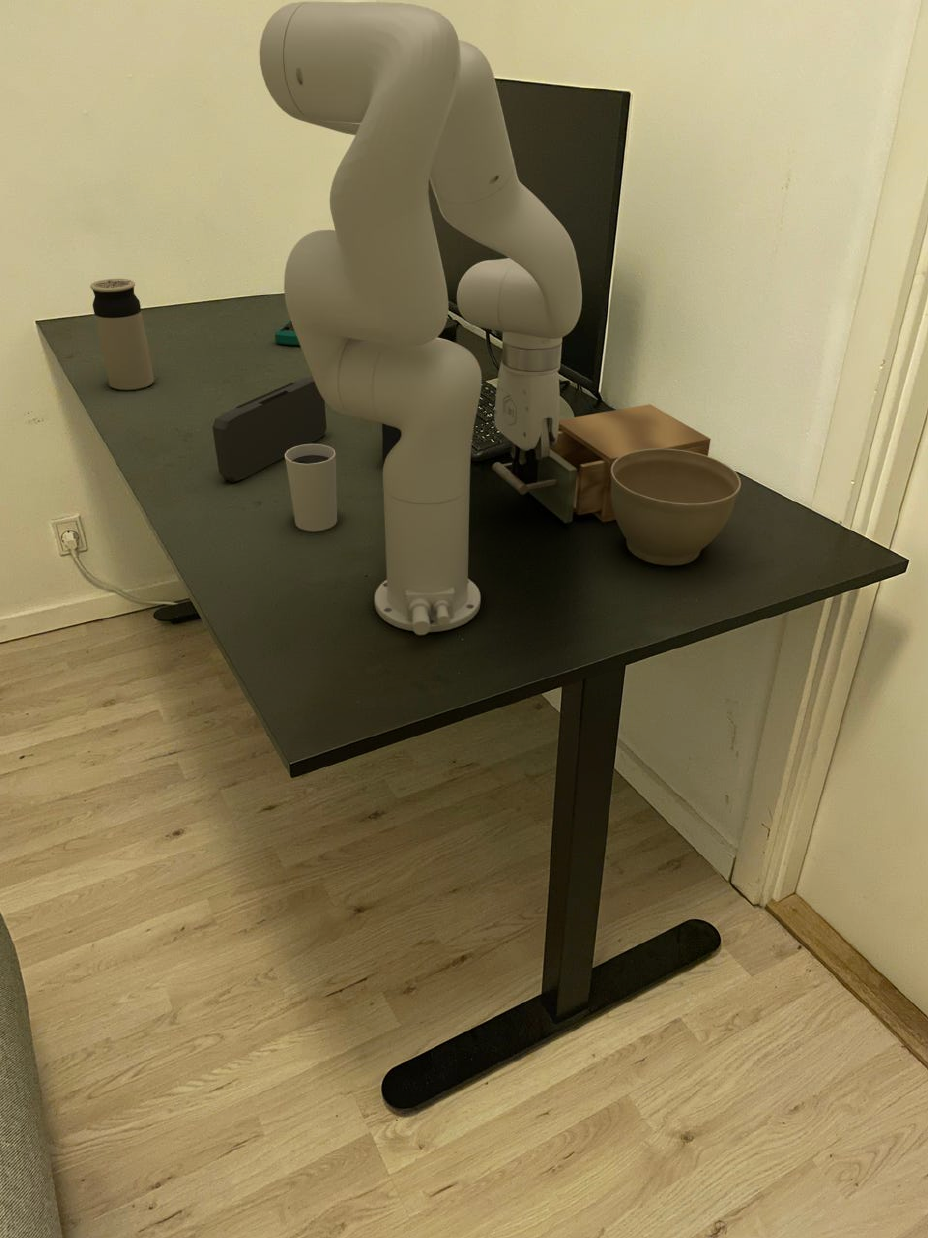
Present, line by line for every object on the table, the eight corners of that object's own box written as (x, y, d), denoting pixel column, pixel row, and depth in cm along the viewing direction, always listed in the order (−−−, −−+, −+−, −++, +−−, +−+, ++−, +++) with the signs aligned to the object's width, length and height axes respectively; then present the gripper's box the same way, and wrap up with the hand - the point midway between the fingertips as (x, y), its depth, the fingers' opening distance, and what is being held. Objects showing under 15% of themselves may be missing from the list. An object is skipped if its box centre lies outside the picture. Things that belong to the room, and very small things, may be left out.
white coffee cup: (327, 536, 122) (321, 467, 116) (282, 528, 124) (275, 459, 118) (348, 514, 127) (344, 447, 122) (305, 507, 129) (299, 440, 123)
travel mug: (156, 388, 168) (138, 287, 158) (111, 393, 165) (89, 291, 155) (152, 374, 174) (134, 276, 164) (108, 379, 171) (87, 279, 161)
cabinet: (603, 522, 126) (610, 458, 121) (550, 480, 137) (555, 420, 132) (700, 500, 133) (711, 438, 127) (642, 462, 143) (650, 403, 138)
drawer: (527, 531, 122) (530, 478, 118) (482, 491, 132) (483, 440, 128) (658, 502, 130) (666, 451, 126) (607, 466, 140) (612, 417, 136)
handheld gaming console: (315, 431, 152) (310, 372, 146) (328, 434, 151) (324, 375, 145) (218, 481, 135) (208, 417, 130) (232, 485, 134) (222, 421, 129)
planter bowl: (634, 589, 112) (645, 509, 106) (583, 528, 125) (591, 454, 119) (749, 571, 116) (766, 494, 110) (689, 514, 129) (701, 442, 123)
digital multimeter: (274, 345, 189) (272, 331, 188) (296, 325, 202) (294, 311, 200) (308, 348, 188) (307, 333, 187) (328, 327, 201) (327, 313, 199)
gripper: (479, 341, 120) (476, 469, 131) (533, 377, 109) (525, 514, 119) (529, 335, 123) (522, 461, 133) (587, 369, 112) (575, 503, 122)
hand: (524, 485), depth 126 cm, fingers closed
